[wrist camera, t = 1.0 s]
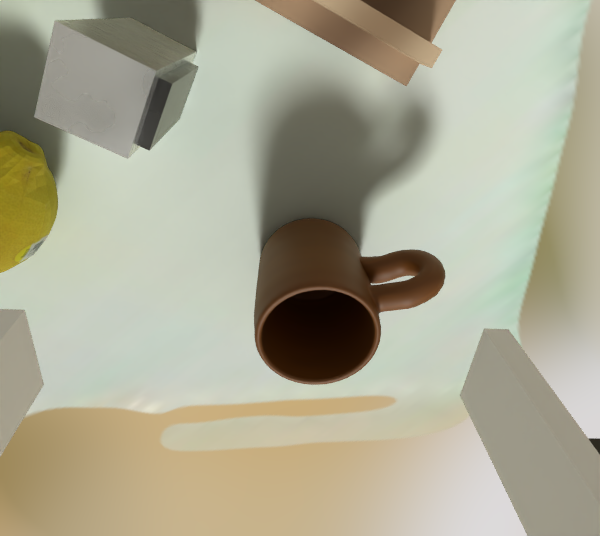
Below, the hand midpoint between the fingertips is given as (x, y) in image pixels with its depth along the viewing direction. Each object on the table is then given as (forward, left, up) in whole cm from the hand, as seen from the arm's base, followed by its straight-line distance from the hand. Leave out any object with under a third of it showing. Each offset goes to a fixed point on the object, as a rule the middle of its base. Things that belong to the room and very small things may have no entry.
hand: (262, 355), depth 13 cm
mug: (+7, -4, -20) cm, 21 cm away
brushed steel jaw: (-9, +2, -20) cm, 22 cm away
